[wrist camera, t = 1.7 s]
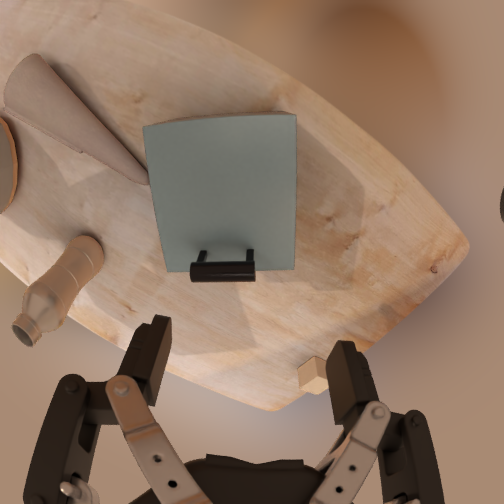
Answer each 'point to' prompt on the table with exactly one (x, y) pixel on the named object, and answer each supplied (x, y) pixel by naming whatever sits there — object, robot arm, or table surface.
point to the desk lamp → (7, 166)
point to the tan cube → (313, 376)
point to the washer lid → (225, 194)
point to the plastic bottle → (57, 290)
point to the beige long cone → (65, 116)
